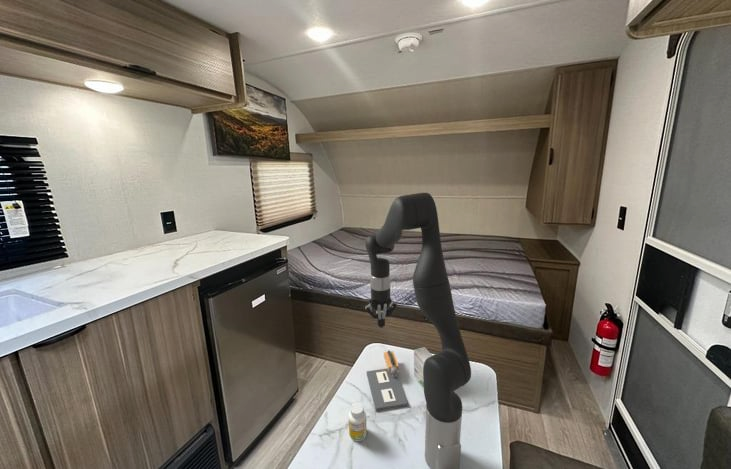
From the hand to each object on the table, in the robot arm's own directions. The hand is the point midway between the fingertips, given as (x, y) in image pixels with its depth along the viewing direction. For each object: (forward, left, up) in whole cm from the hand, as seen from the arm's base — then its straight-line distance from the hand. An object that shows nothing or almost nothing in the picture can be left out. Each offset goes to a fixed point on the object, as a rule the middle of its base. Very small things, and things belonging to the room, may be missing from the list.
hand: (381, 326), depth 113 cm
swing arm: (-4, -3, -15) cm, 16 cm away
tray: (-12, +1, -18) cm, 22 cm away
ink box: (-11, -14, -19) cm, 26 cm away
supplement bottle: (-28, +14, -19) cm, 36 cm away
